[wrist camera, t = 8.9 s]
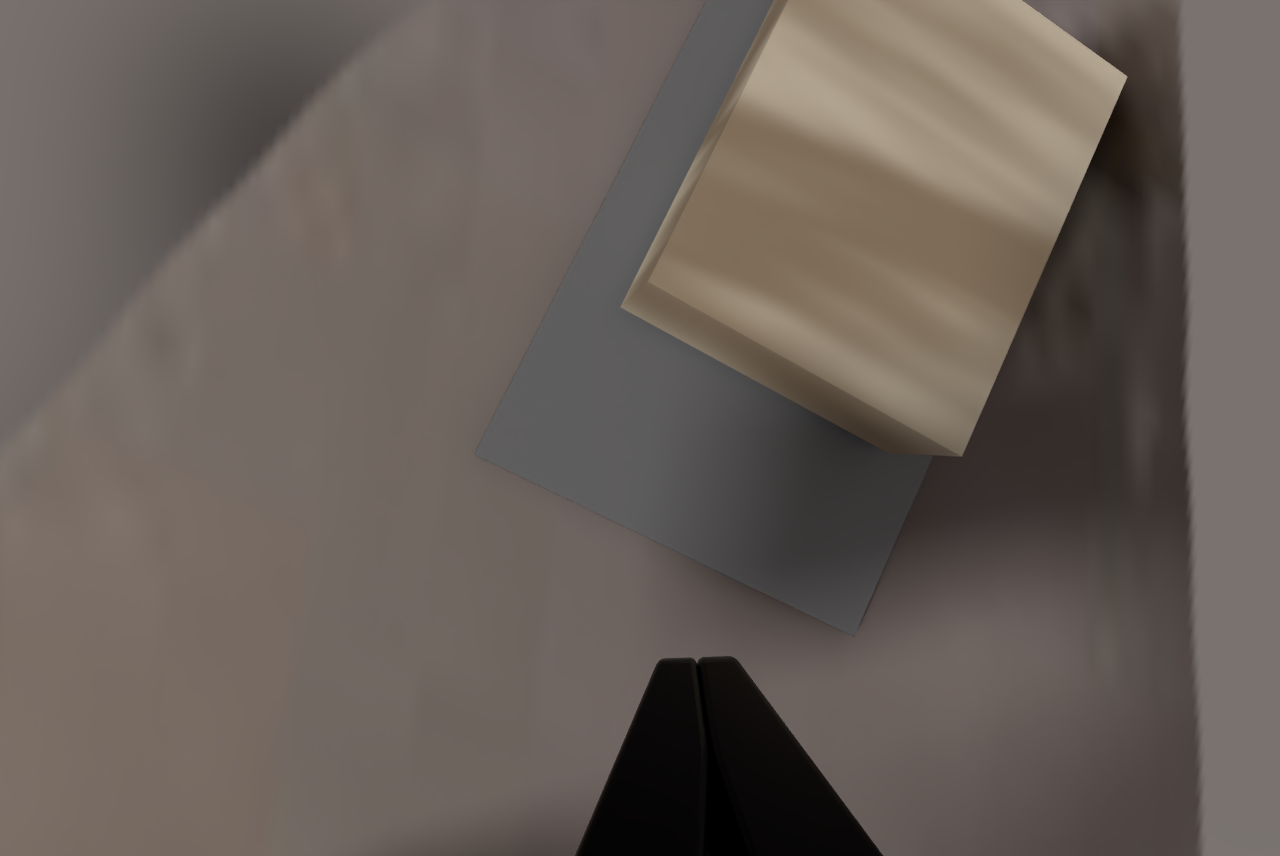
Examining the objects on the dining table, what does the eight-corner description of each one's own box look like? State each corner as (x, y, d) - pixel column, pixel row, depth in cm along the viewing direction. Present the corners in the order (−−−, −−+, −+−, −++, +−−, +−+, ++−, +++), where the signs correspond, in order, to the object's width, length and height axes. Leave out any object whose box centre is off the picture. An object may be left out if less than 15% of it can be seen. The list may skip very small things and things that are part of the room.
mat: (846, 633, 20) (854, 636, 19) (474, 453, 17) (474, 454, 17) (1068, 129, 21) (1079, 123, 21) (752, -89, 19) (757, -100, 19)
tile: (961, 456, 16) (1127, 76, 17) (647, 282, 14) (849, -124, 16) (879, 452, 19) (1022, 134, 20) (617, 309, 18) (785, -26, 19)
